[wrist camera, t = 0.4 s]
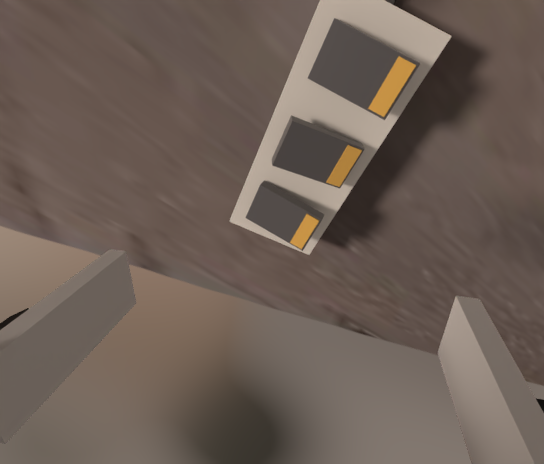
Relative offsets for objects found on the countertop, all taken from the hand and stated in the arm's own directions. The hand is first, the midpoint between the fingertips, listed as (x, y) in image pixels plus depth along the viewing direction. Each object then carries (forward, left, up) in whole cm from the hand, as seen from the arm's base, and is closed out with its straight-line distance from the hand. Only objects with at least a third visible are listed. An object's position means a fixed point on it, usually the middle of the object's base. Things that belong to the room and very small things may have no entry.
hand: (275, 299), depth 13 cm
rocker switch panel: (-2, +2, -25) cm, 25 cm away
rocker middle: (+1, +2, -19) cm, 20 cm away
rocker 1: (+9, +2, -19) cm, 21 cm away
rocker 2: (-6, +2, -19) cm, 20 cm away
